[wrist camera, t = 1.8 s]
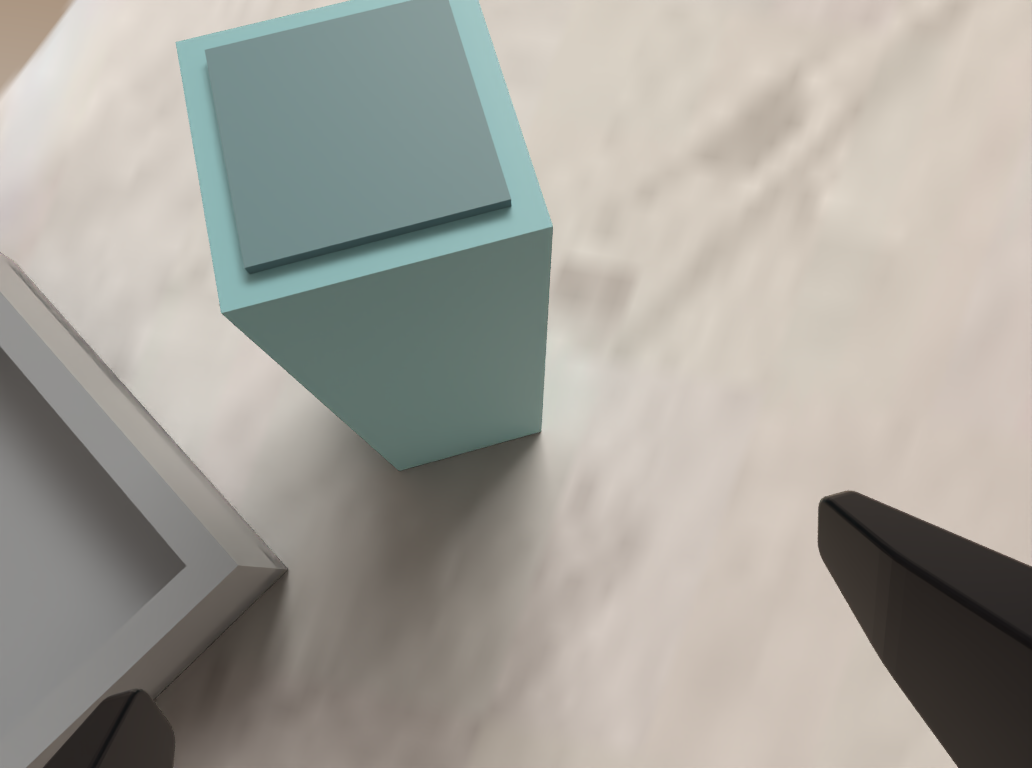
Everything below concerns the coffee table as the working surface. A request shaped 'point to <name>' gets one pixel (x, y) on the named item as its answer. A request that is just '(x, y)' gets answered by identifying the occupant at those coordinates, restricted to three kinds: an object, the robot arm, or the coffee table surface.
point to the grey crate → (98, 537)
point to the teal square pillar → (378, 218)
